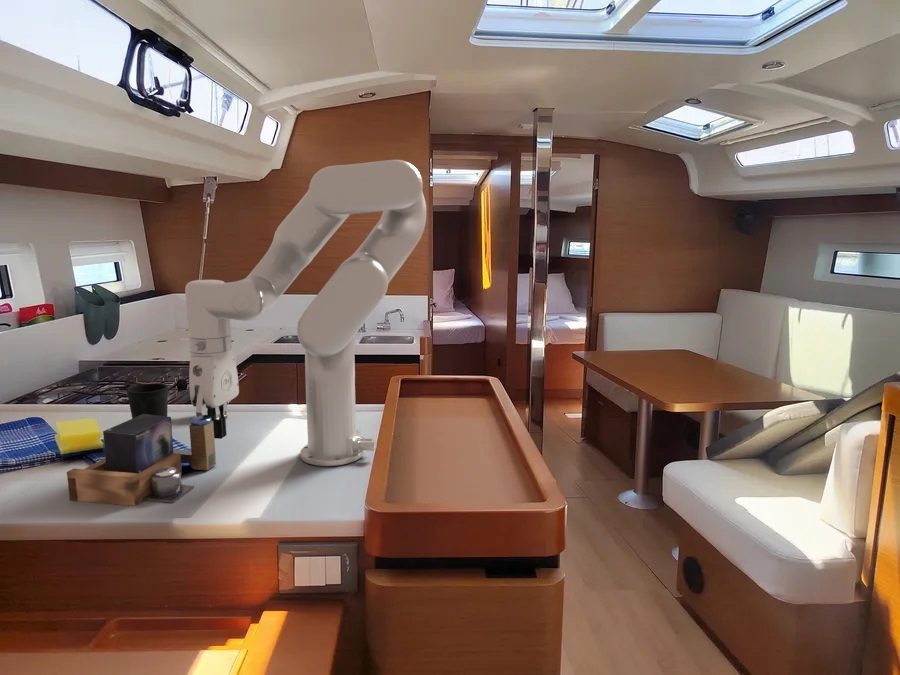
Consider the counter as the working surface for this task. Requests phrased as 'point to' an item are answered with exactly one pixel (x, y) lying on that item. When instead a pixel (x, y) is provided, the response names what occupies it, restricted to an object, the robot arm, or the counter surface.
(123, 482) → the bay
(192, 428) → the container
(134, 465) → the small box
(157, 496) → the drum
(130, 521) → the counter surface
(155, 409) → the cup
